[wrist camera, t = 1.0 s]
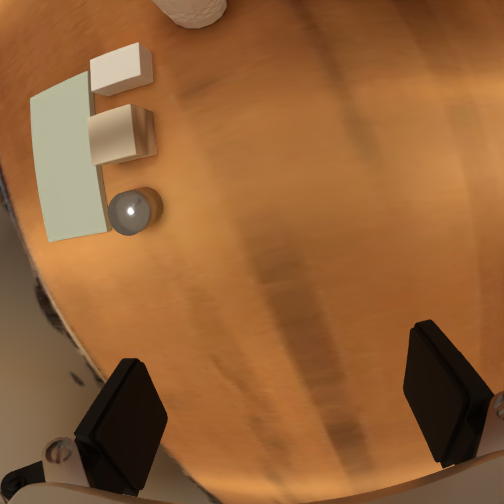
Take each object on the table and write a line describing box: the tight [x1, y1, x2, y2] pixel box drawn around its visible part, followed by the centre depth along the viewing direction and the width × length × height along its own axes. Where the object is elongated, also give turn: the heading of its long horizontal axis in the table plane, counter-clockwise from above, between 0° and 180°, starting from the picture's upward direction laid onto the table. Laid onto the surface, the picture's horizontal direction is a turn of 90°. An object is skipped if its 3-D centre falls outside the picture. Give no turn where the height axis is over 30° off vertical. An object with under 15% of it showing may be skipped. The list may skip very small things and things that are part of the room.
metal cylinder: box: [108, 187, 163, 236], centre depth 31 cm, size 4×4×5 cm
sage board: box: [30, 71, 112, 242], centre depth 31 cm, size 20×10×1 cm, turn 7°
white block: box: [90, 42, 154, 97], centre depth 27 cm, size 4×6×4 cm, turn 97°
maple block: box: [87, 104, 158, 166], centre depth 28 cm, size 5×5×6 cm
